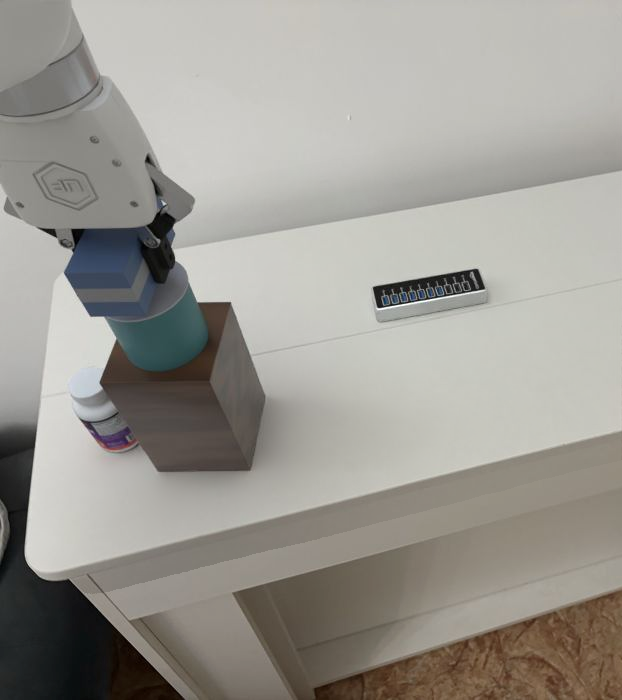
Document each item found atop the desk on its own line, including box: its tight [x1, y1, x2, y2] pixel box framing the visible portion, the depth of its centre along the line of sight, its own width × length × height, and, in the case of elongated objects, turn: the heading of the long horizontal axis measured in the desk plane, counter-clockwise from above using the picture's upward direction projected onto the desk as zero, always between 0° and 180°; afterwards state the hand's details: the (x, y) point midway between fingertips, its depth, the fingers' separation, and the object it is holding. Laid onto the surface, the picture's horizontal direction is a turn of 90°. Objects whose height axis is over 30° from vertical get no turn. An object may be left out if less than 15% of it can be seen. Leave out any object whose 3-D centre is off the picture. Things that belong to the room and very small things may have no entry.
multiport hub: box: [370, 267, 488, 323], centre depth 92 cm, size 4×14×2 cm, turn 104°
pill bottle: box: [67, 366, 139, 453], centre depth 76 cm, size 5×5×10 cm
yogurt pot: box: [103, 260, 209, 372], centre depth 65 cm, size 8×8×7 cm
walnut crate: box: [99, 301, 266, 473], centre depth 74 cm, size 10×10×16 cm
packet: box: [63, 196, 176, 318], centre depth 59 cm, size 10×4×5 cm, turn 1°
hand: (133, 271), depth 60 cm, fingers closed on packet, 4 cm apart
